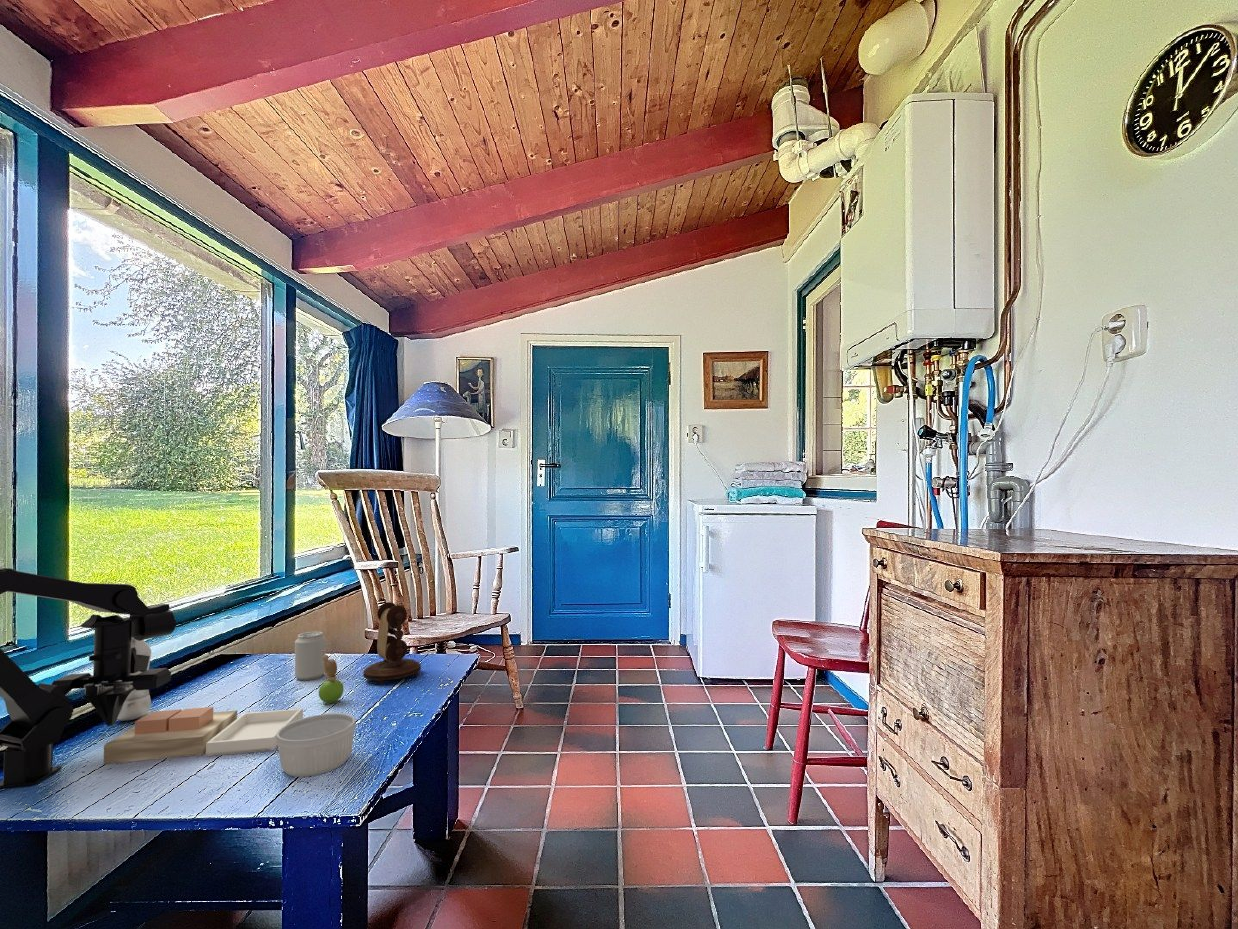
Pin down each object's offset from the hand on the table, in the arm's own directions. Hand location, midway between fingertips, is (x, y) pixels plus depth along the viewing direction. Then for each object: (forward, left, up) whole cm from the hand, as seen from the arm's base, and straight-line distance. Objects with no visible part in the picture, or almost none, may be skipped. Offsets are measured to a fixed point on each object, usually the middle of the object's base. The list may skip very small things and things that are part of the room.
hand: (110, 725), depth 117 cm
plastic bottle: (+18, +6, -5) cm, 20 cm away
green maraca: (+19, -36, -5) cm, 41 cm away
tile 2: (0, -15, -1) cm, 15 cm away
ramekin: (-16, -44, -5) cm, 47 cm away
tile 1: (0, -9, -1) cm, 9 cm away
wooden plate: (0, -12, -5) cm, 13 cm away
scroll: (+36, -47, -5) cm, 59 cm away
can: (+42, -24, -5) cm, 48 cm away
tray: (0, -27, -5) cm, 28 cm away
